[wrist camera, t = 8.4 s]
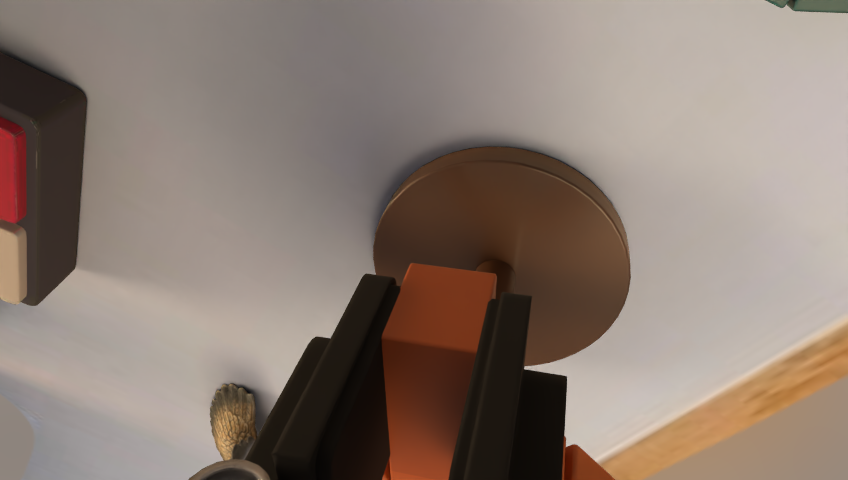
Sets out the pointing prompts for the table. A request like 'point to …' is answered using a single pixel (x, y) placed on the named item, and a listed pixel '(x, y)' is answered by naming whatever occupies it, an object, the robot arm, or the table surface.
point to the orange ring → (440, 372)
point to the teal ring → (814, 5)
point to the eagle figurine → (233, 422)
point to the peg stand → (515, 239)
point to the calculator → (38, 180)
